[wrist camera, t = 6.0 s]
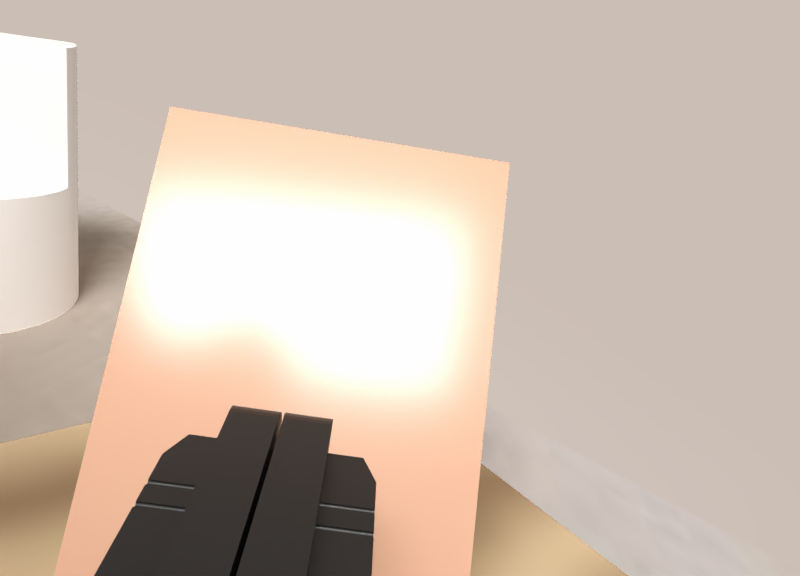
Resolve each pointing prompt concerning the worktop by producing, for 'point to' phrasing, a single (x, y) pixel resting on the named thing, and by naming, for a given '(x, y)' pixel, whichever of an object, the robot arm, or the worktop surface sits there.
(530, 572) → the board
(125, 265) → the worktop surface
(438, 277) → the tile
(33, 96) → the base with upright slab
